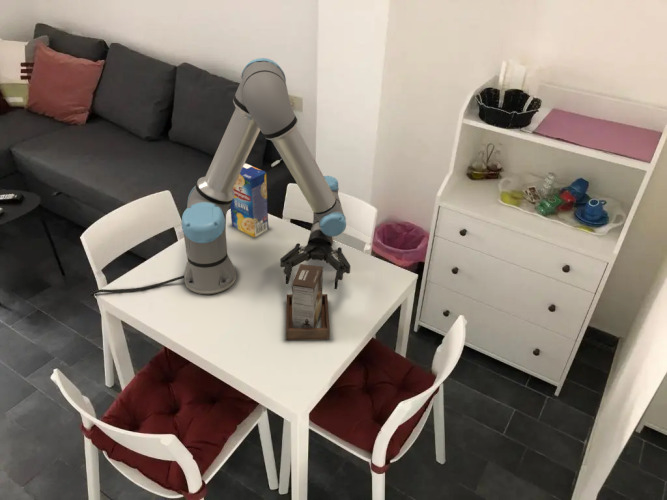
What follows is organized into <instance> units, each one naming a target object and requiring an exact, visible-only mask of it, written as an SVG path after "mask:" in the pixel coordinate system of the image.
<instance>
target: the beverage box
mask: <svg viewBox="0 0 667 500" xmlns="http://www.w3.org/2000/svg"><path fill="white" fill-rule="evenodd" d="M267 182H268V181H267V171H265V170H262V169H260V168H258V167H255V166H253V165H251V164H248V163H247V162H245V163H244V165H243V168H242V170H241V172H240V174H239V176H238V178H237V180H236V182H235V184H234V186H233V188H232V190H233V192H234V198H233V200H232V203H231V205H230V207H229V210H230V220H231V227H233V228H235V229H237V230H239V231H240V232H243V233H244V234H247V235H248V236H250V237H252V238H256V237H258V236H260V235H261V234H263V233H264V232H266V231H268V230H269V211H268V208H269V207H268V186H267V184H268V183H267Z"/></svg>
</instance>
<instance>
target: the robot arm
mask: <svg viewBox="0 0 667 500" xmlns="http://www.w3.org/2000/svg"><path fill="white" fill-rule="evenodd" d="M240 77H241V80H240V83H239V85H238V87H237V89H236V92H235V94H234V96H233V99H232V102H233V105H234V107H235V108H234V111H233V113H232V115H231V118H230V120H229V122H228V124H227V126H226V129H225V131H224V133H223V136H222V138H221V140H220V142H219V145H218V148H217V149H216V151H215V154H214V156H213V159H212V161H211V164H210V165H209V167H208V170H207V172H206V174H205V176H202V177H200V178H198V180H197V182H196V184H195V185H194V187H193V188H192V189H191V190H190V192H189V194H188V197H187V203H186V204H187V207H186V209H185V210H184V212H183V213H182V214H181V215H182V216H181V229H182V234H183V239H184V240H183V241H184V244H185V245H184V246H185V252H186V259H187V261H186V265H185V268H184V272H183V275H181V276H178V277H174V278H171V279H168V280H165V281H162V282H158V283H154V284H151V285H146V286H145V285H144V286H140V287H133V288H132V287H131V288H119V289H118V288H117V289H107V288H106V289H105V288H104V289H103V288H102V289H101V288H100V289H96V290H94V291H92V292H91V293H90V294H89V297H93V296H94V295H96V294H99V293H125V292H135V291H143V290H149V289H153V288H156V287H159V286H160V287H161V286H163V285H167V284H169V283H174V282H175V281H179V280H182V279H183V281H184V285H185V287H186V288H187V289H188V290H189V291H190V292H193V293H195V294H199V295H215V294H219V293H222V292H224V291H226V290H228V289H230V288H231V287H232V286H233V285H234V283H235V282H236V278H237V272H236V267H235V266H234V264H233V262H232V260H231V258H230V256H229V255H228V254H229V252H228V243H227V214H228V211H229V210H230V205H231V203H232V200H233V198H234V192H233V190H232V188H233V186H234V184H235V182H236V180H237V178H238V176H239V174H240V172H241V170H242V168H243V165H244V163H246V162H247V159H248V157H249V155H250V153H251V151H252V148H253V147H254V144H255V142H256V140H257V138H258V136H259V134H260V132H261V133H262V135H263V137H264V138H265V139H266V140H269V141H271V142H272V144H273V146H274V147H275V149H276V151H277V152H278V154H279V156H280V158H281V159H282V162H283V163H284V164H285V166H286V168H287V169H288V171H289V173H290V175H291V176H292V178H293V180H294V182H295V183H296V184H297V186H298V188H299V189H300V191H301V193H302V195H303V197H304V198H305V200H306V201H307V203H308V205H309V207H310V208H311V210H312V212H313V214H312V215H313V216H312V217H313V220H312V224H311V228H310V232H309V236H308V240H307V244H305V246H303V245H301V244H300V243H299V242H298V243H296V244H295V246H294V247H292V249H291V250H289V251H288V252H287V253H285V254H284V255H283V256H282V257H281V258H280V259H279V262H280V263H279V265H280V268H283V275H285V278H284V279H285V285H289V283H290V280H291V276H292V272H293V268H294V267H296V266H298V265H300V264H302V263H303V262H308V261H310V260H312V261H320V262H321V261H324V262H325V263H326V264H328V265H330V266H331V267H332V268H333V269H334V270H335V275H334V276H335V277H334V285H333V286H334V287H333V289H334V290H338V286H339V281H343V279H344V274H350V273H351V264H350V262H349V261H348V260H347V258H346V256H345V255H344V253H343V249H342V247H340V246H339V247H337V249H333V244H334V240H335V239H334V238H335V237H338V236H340V235H341V234H343V233H344V232H345V231H346V228H347V221H346V219H347V218H346V216H345V213H344V210H343V207H342V203H341V200H340V196H339V190H340V188H339V181H338V179H337V178H336V177H334V176H331V175H324V174H323V172H322V170H321V169H320V166H319V164H318V162H317V161H316V159H315V158H314V156H313V154H312V152H311V150H310V148H309V147H308V144H307V143H306V141H305V139H304V137H303V135H302V133H301V131H300V130H299V127H298V126H297V125H298V122H299V121H298V120H299V119H298V118H297V116H296V114H295V112H294V109H293V107H292V104H291V100H290V95H289V91H288V86H287V78H286V74H285V72H284V70H283V68H282V67H281V65H279V64H278V63H277V62H276V61H274V60H272V59H270V58H267V57H266V58H265V57H258V58H255V59H252V60H250V61H249V62H248V63H247V64H246V65H245V67H244V68H243V70H242V72H241V76H240Z"/></svg>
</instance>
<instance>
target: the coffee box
mask: <svg viewBox="0 0 667 500" xmlns="http://www.w3.org/2000/svg"><path fill="white" fill-rule="evenodd" d="M323 274H324V267H323V266H319V265H311V264H304V263H303V264H302V263H300V264H299V267H298V269H297V271H296V274H295V276H294V278H293V280H292V283H291V294H292V321H293V328H317V326H318V323H319V320H320V319H321V312H322V294H323V280H324V278H323V277H324V275H323Z"/></svg>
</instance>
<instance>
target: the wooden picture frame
mask: <svg viewBox="0 0 667 500" xmlns="http://www.w3.org/2000/svg"><path fill="white" fill-rule="evenodd" d="M285 303H286V304H285V305H286V306H285V307H286V308H285V309H286V310H285V311H286V312H285V340H286V341H301V340H302V341H303V340H304V341H305V340H306V341H308V340H309V341H311V340H317V341H318V340H330V337H331V336H330V335H331V325H330V313H329V312H330V311H329V299H328V293H322V312H321V315H320V325H321V326H320V327H316V328H293V321H292V293H291V294H290V293H288V294H286V301H285Z"/></svg>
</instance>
